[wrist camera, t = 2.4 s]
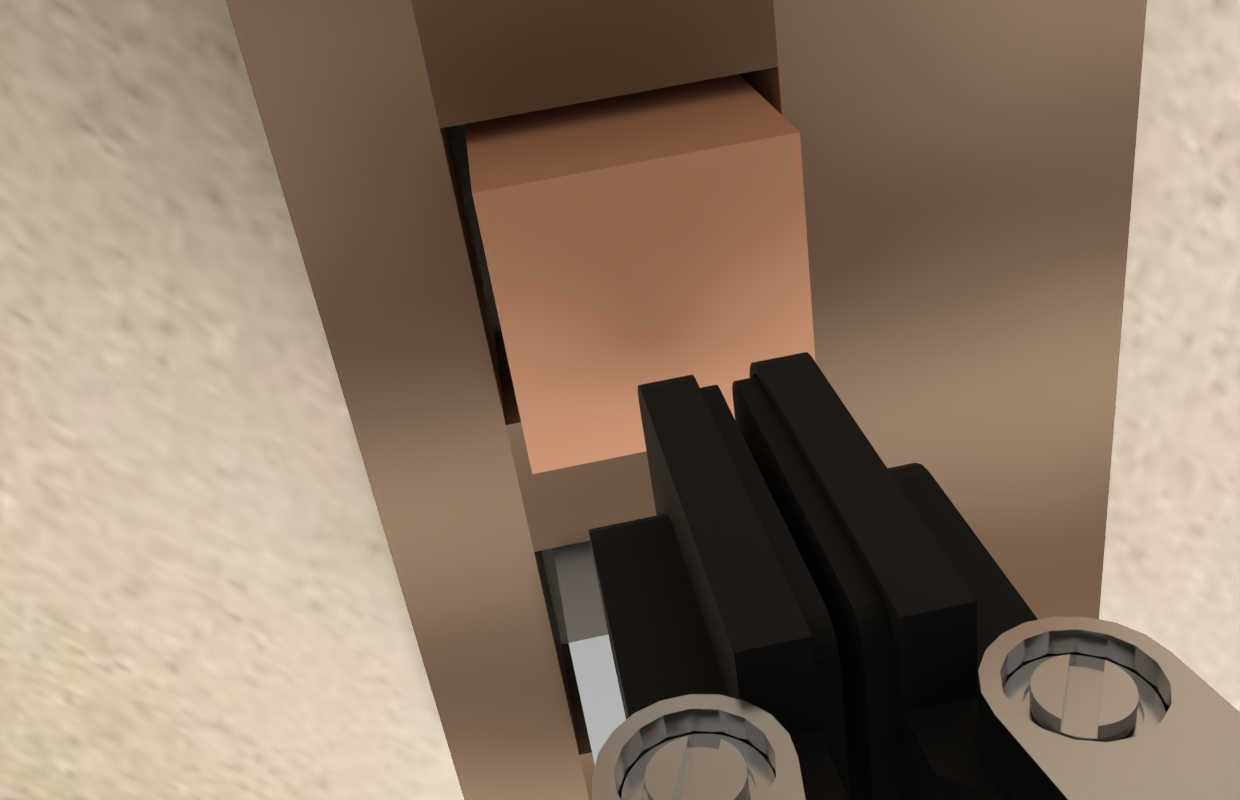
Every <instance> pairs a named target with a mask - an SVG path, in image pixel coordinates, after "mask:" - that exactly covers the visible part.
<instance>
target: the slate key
mask: <svg viewBox="0 0 1240 800" xmlns="http://www.w3.org/2000/svg"><path fill="white" fill-rule="evenodd" d="M553 552H554V558H555V564H556V570H557V576H558V582H559V588H560V594H561V600H562V606H563V612H564V618H565V624H566V631H567V637H568V643H569V647H570V652H571V657H572V661H573V666H574V671H575V675H576V680H577V685H578V689H579V694H580V699H581V703H582V708H583V713H584V717H585V722H586V727H587V731H588V736H589V741H590V745H591V750H592V754H593V759H594V764H595V765H596V760H597V756H598V753H599V751H600V750H601V748H602V747H603V745H604V744H605V742H606V741H607V739H608V737H609V736H610V734H611V733H612V731H613V730H615V729H616V728H617V727H618V726H619V725H621V724H622V723H623V722H624V721H625V720H626V717H625V712H624V707H623V703H622V698H621V693H620V688H619V684H618V679H617V674H616V669H615V664H614V660H613V655H612V650H611V645H610V640H609V635H608V630H607V625H606V620H605V615H604V610H603V605H602V599H601V594H600V589H599V584H598V579H597V573H596V568H595V563H594V558H593V553H592V547H591V542H590V541H585V542H580V543H575V544H570V545H565V546H561V547H556V548H553Z"/></svg>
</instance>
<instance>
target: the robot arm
mask: <svg viewBox="0 0 1240 800" xmlns="http://www.w3.org/2000/svg"><path fill="white" fill-rule="evenodd" d="M732 394H733V404H734V413H735V419H734V417H733V415H732V413H731V411H730V409H729V406H728V404H727V402H726V400H725V398H724V396H723V394H722V392H721V390H720V388H719V386H718V385H712V386H707V387H702V388H700V387H699V385H698V383H697V381H696V379H695V377H694V375H687V376H682V377H677V378H672V379H667V380H662V381H657V382H652V383H647V384H642V385H638V399H639V406H640V413H641V419H642V425H643V432H644V438H645V445H646V451H647V457H648V464H649V470H650V477H651V483H652V489H653V496H654V502H655V509H656V515H657V516H652V517H647V518H642V519H637V520H632V521H628V522H623V523H618V524H613V525H608V526H603V527H598V528H593V529H589V536H590V542H591V547H592V553H593V558H594V563H595V568H596V573H597V579H598V584H599V589H600V594H601V599H602V605H603V610H604V615H605V620H606V625H607V630H608V635H609V640H610V645H611V650H612V655H613V660H614V664H615V669H616V674H617V679H618V684H619V688H620V693H621V698H622V703H623V707H624V712H625V717H626V720H625V721H624V722H623V723H622V724H621V725H619V726H618V727H617V728H616V729H615V730H613V731H612V733H611V734H610V736H609V737H608V739H607V741H606V742H605V744H604V745H603V747H602V748H601V750H600V751H599V753H598V756H597V760H596V765H595V769H594V774H593V779H592V800H1240V712H1239V711H1238V710H1237V709H1235V708H1234V707H1233V706H1232V705H1231V704H1230V703H1229V702H1227V701H1226V700H1225V699H1224V698H1223V697H1222V696H1221V695H1219V694H1218V693H1217V692H1216V691H1215V690H1214V689H1213V688H1211V687H1210V686H1209V685H1208V684H1207V683H1206V682H1205V681H1204V680H1202V679H1201V678H1200V677H1199V676H1198V675H1197V674H1196V673H1194V672H1193V671H1192V670H1191V669H1190V668H1189V667H1188V666H1186V665H1185V664H1184V663H1183V662H1182V661H1181V660H1180V659H1179V658H1177V657H1176V656H1175V655H1174V654H1173V653H1172V652H1170V651H1169V650H1167V649H1166V648H1165V647H1163V646H1162V645H1160V644H1159V643H1157V642H1156V641H1154V640H1153V639H1151V638H1150V637H1148V636H1147V635H1145V634H1143V633H1140V632H1138V631H1135V630H1133V629H1130V628H1128V627H1125V626H1123V625H1120V624H1118V623H1114V622H1109V621H1104V620H1099V619H1094V618H1088V617H1049V618H1044V619H1039V620H1038V619H1037V617H1036V616H1035V615H1034V613H1033V612H1032V610H1031V609H1030V608H1029V606H1028V605H1027V604H1026V602H1025V601H1024V600H1023V598H1022V597H1021V596H1020V594H1019V593H1018V591H1017V590H1016V589H1015V587H1014V586H1013V585H1012V583H1011V582H1010V581H1009V579H1008V578H1007V577H1006V575H1005V574H1004V572H1003V571H1002V570H1001V568H1000V567H999V566H998V564H997V563H996V562H995V560H994V559H993V558H992V556H991V555H990V553H989V552H988V551H987V549H986V548H985V547H984V545H983V544H982V543H981V541H980V540H979V538H978V537H977V536H976V534H975V533H974V532H973V530H972V529H971V528H970V526H969V525H968V524H967V522H966V521H965V519H964V518H963V517H962V515H961V514H960V513H959V511H958V510H957V509H956V507H955V506H954V505H953V503H952V502H951V500H950V499H949V498H948V496H947V495H946V494H945V492H944V491H943V490H942V488H941V487H940V486H939V484H938V483H937V481H936V480H935V479H934V477H933V476H932V475H931V473H930V472H929V471H928V470H927V469H926V468H925V467H924V466H923V465H922V464H919V463H911V464H906V465H901V466H896V467H891V468H887V467H886V466H885V464H884V463H883V461H882V460H881V458H880V457H879V455H878V454H877V452H876V451H875V449H874V448H873V446H872V445H871V443H870V442H869V441H868V439H867V438H866V436H865V435H864V433H863V432H862V430H861V429H860V427H859V426H858V424H857V423H856V421H855V420H854V418H853V417H852V415H851V414H850V412H849V411H848V410H847V408H846V407H845V405H844V404H843V402H842V401H841V399H840V398H839V396H838V395H837V393H836V392H835V390H834V389H833V387H832V386H831V384H830V383H829V381H828V380H827V379H826V377H825V376H824V374H823V373H822V371H821V370H820V368H819V367H818V365H817V364H816V362H815V361H814V359H813V358H812V356H811V355H810V354H809V353H808V352H804V353H798V354H793V355H788V356H783V357H778V358H773V359H768V360H763V361H758V362H753V363H751V365H750V378H747V379H742V380H737V381H733V384H732Z"/></svg>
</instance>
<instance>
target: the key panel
mask: <svg viewBox="0 0 1240 800" xmlns="http://www.w3.org/2000/svg"><path fill="white" fill-rule="evenodd" d="M226 2H227V5H228V8H229V12H230V15H231V18H232V22H233V25H234V28H235V32H236V35H237V38H238V42H239V45H240V49H241V52H242V55H243V59H244V62H245V65H246V69H247V72H248V75H249V79H250V82H251V85H252V89H253V92H254V95H255V99H256V102H257V106H258V109H259V112H260V116H261V119H262V122H263V126H264V129H265V132H266V136H267V139H268V142H269V146H270V149H271V153H272V156H273V159H274V163H275V166H276V169H277V173H278V176H279V179H280V183H281V186H282V189H283V193H284V196H285V199H286V203H287V206H288V210H289V213H290V216H291V220H292V223H293V226H294V230H295V233H296V236H297V240H298V243H299V246H300V250H301V253H302V256H303V260H304V263H305V267H306V270H307V273H308V277H309V280H310V283H311V287H312V290H313V293H314V297H315V300H316V303H317V307H318V310H319V313H320V317H321V320H322V324H323V327H324V330H325V334H326V337H327V340H328V344H329V347H330V350H331V354H332V357H333V360H334V364H335V367H336V370H337V374H338V377H339V381H340V384H341V387H342V391H343V394H344V397H345V401H346V404H347V407H348V411H349V414H350V417H351V421H352V424H353V427H354V431H355V434H356V438H357V441H358V444H359V448H360V451H361V454H362V458H363V461H364V464H365V468H366V471H367V474H368V478H369V481H370V484H371V488H372V491H373V495H374V498H375V501H376V505H377V508H378V511H379V515H380V518H381V521H382V525H383V528H384V531H385V535H386V538H387V541H388V545H389V548H390V552H391V555H392V558H393V562H394V565H395V568H396V572H397V575H398V578H399V582H400V585H401V588H402V592H403V595H404V599H405V602H406V605H407V609H408V612H409V615H410V619H411V622H412V625H413V629H414V632H415V635H416V639H417V642H418V645H419V649H420V652H421V656H422V659H423V662H424V666H425V669H426V672H427V676H428V679H429V682H430V686H431V689H432V692H433V696H434V699H435V702H436V706H437V709H438V713H439V716H440V719H441V723H442V726H443V729H444V733H445V736H446V739H447V743H448V746H449V749H450V753H451V756H452V759H453V763H454V766H455V770H456V773H457V776H458V780H459V783H460V786H461V790H462V793H463V796H464V800H592V779H593V774H594V769H595V764H594V759H593V754H592V750H591V745H590V741H589V736H588V731H587V727H586V722H585V717H584V713H583V708H582V703H581V699H580V694H579V689H578V685H577V680H576V675H575V671H574V666H573V661H572V657H571V652H570V647H569V645H567V646H562V644H561V639H560V634H559V630H558V625H557V621H556V616H555V612H554V607H553V602H552V598H551V593H550V589H549V584H548V580H547V575H546V570H545V566H544V561H543V557H542V552H541V550H546V549H551V548H556V547H561V546H565V545H570V544H575V543H580V542H585V541H590V536H589V529H593V528H598V527H603V526H608V525H613V524H618V523H623V522H628V521H632V520H637V519H642V518H647V517H652V516H657V515H656V509H655V502H654V496H653V489H652V483H651V477H650V470H649V464H648V457H647V451H645V452H640V453H635V454H630V455H625V456H620V457H615V458H611V459H606V460H601V461H596V462H591V463H586V464H581V465H576V466H571V467H566V468H561V469H556V470H551V471H546V472H541V473H536V474H532V470H531V466H530V461H529V456H528V452H527V447H526V442H525V438H524V433H523V428H522V424H521V419H520V415H519V410H518V405H517V401H516V396H515V391H514V387H513V382H512V377H511V373H510V368H509V363H508V359H507V354H506V349H505V345H504V340H499V341H495V337H494V333H493V328H492V324H491V319H490V314H489V310H488V305H487V301H486V296H485V292H484V287H483V282H482V278H481V273H480V269H479V264H478V260H477V255H476V250H475V246H474V241H473V237H472V232H471V228H470V223H469V218H468V214H467V209H466V205H465V200H464V196H463V191H462V186H461V182H460V177H459V173H458V168H457V164H456V159H455V154H454V150H453V145H452V141H451V136H450V132H449V127H451V126H456V125H462V124H467V123H473V122H478V121H484V120H489V119H495V118H500V117H506V116H511V115H517V114H522V113H528V112H533V111H539V110H544V109H549V108H555V107H560V106H566V105H571V104H577V103H582V102H588V101H593V100H599V99H604V98H610V97H615V96H621V95H626V94H632V93H637V92H643V91H648V90H654V89H659V88H664V87H670V86H675V85H681V84H686V83H692V82H697V81H703V80H708V79H714V78H719V77H725V76H730V75H736V74H739V75H740V76H741V77H742V78H743V79H744V80H745V81H746V82H747V83H748V84H750V85H751V86H752V87H753V88H754V89H755V90H756V91H757V92H758V93H759V94H760V95H761V96H762V97H763V98H764V99H765V100H766V101H767V102H769V103H770V104H771V105H772V106H773V107H774V108H775V109H776V110H777V111H778V112H779V113H780V114H781V115H782V116H783V117H784V118H785V119H786V120H788V121H789V122H790V123H791V124H792V125H793V126H794V127H795V128H796V129H797V130H798V131H799V132H800V140H801V155H802V170H803V185H804V199H805V214H806V229H807V244H808V259H809V273H810V288H811V303H812V318H813V333H814V348H815V362H816V364H817V365H818V367H819V368H820V370H821V371H822V373H823V374H824V376H825V377H826V379H827V380H828V381H829V383H830V384H831V386H832V387H833V389H834V390H835V392H836V393H837V395H838V396H839V398H840V399H841V401H842V402H843V404H844V405H845V407H846V408H847V410H848V411H849V412H850V414H851V415H852V417H853V418H854V420H855V421H856V423H857V424H858V426H859V427H860V429H861V430H862V432H863V433H864V435H865V436H866V438H867V439H868V441H869V442H870V443H871V445H872V446H873V448H874V449H875V451H876V452H877V454H878V455H879V457H880V458H881V460H882V461H883V463H884V464H885V466H886V467H887V468H891V467H896V466H901V465H906V464H911V463H919V464H922V465H923V466H924V467H925V468H926V469H927V470H928V471H929V472H930V473H931V475H932V476H933V477H934V479H935V480H936V481H937V483H938V484H939V486H940V487H941V488H942V490H943V491H944V492H945V494H946V495H947V496H948V498H949V499H950V500H951V502H952V503H953V505H954V506H955V507H956V509H957V510H958V511H959V513H960V514H961V515H962V517H963V518H964V519H965V521H966V522H967V524H968V525H969V526H970V528H971V529H972V530H973V532H974V533H975V534H976V536H977V537H978V538H979V540H980V541H981V543H982V544H983V545H984V547H985V548H986V549H987V551H988V552H989V553H990V555H991V556H992V558H993V559H994V560H995V562H996V563H997V564H998V566H999V567H1000V568H1001V570H1002V571H1003V572H1004V574H1005V575H1006V577H1007V578H1008V579H1009V581H1010V582H1011V583H1012V585H1013V586H1014V587H1015V589H1016V590H1017V591H1018V593H1019V594H1020V596H1021V597H1022V598H1023V600H1024V601H1025V602H1026V604H1027V605H1028V606H1029V608H1030V609H1031V610H1032V612H1033V613H1034V615H1035V616H1036V617H1037V619H1038V620H1039V619H1044V618H1049V617H1088V618H1094V619H1099V608H1100V596H1101V583H1102V570H1103V557H1104V544H1105V531H1106V518H1107V505H1108V493H1109V480H1110V467H1111V454H1112V441H1113V428H1114V415H1115V402H1116V390H1117V377H1118V364H1119V351H1120V338H1121V325H1122V312H1123V300H1124V287H1125V274H1126V261H1127V248H1128V235H1129V222H1130V209H1131V197H1132V184H1133V171H1134V158H1135V145H1136V132H1137V119H1138V106H1139V94H1140V81H1141V68H1142V55H1143V42H1144V29H1145V16H1146V3H1147V0H226Z"/></svg>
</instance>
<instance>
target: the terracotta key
mask: <svg viewBox="0 0 1240 800" xmlns="http://www.w3.org/2000/svg"><path fill="white" fill-rule="evenodd" d="M464 126H465V135H466V144H467V153H468V162H469V171H470V180H471V189H472V196H473V200H474V205H475V210H476V214H477V219H478V224H479V228H480V233H481V238H482V242H483V247H484V252H485V256H486V261H487V265H488V270H489V275H490V279H491V284H492V289H493V293H494V298H495V303H496V307H497V312H498V317H499V321H500V326H501V331H502V335H503V340H504V345H505V349H506V354H507V359H508V363H509V368H510V373H511V377H512V382H513V387H514V391H515V396H516V401H517V405H518V410H519V415H520V419H521V424H522V428H523V433H524V438H525V442H526V447H527V452H528V456H529V461H530V466H531V470H532V474H536V473H541V472H546V471H551V470H556V469H561V468H566V467H571V466H576V465H581V464H586V463H591V462H596V461H601V460H606V459H611V458H615V457H620V456H625V455H630V454H635V453H640V452H645V451H646V445H645V438H644V432H643V425H642V419H641V413H640V406H639V399H638V385H642V384H647V383H652V382H657V381H662V380H667V379H672V378H677V377H682V376H687V375H694V377H695V379H696V381H697V383H698V385H699V387H700V388H702V387H707V386H712V385H718V386H719V388H720V390H721V392H722V394H723V396H724V398H725V400H726V402H727V404H728V406H729V409H730V411H731V413H732V415H733V417H734V419H735V413H734V404H733V394H732V384H733V381H737V380H742V379H747V378H750V365H751V363H753V362H758V361H763V360H768V359H773V358H778V357H783V356H788V355H793V354H798V353H804V352H808V353H809V354H810V355H811V356H812V358H813V359H814V361H815V348H814V333H813V318H812V303H811V288H810V273H809V259H808V244H807V229H806V214H805V199H804V185H803V170H802V155H801V140H800V132H799V131H798V130H797V129H796V128H795V127H794V126H793V125H792V124H791V123H790V122H789V121H788V120H786V119H785V118H784V117H783V116H782V115H781V114H780V113H779V112H778V111H777V110H776V109H775V108H774V107H773V106H772V105H771V104H770V103H769V102H767V101H766V100H765V99H764V98H763V97H762V96H761V95H760V94H759V93H758V92H757V91H756V90H755V89H754V88H753V87H752V86H751V85H750V84H748V83H747V82H746V81H745V80H744V79H743V78H742V77H741V76H740V75H739V74H736V75H730V76H725V77H719V78H714V79H708V80H703V81H697V82H692V83H686V84H681V85H675V86H670V87H664V88H659V89H654V90H648V91H643V92H637V93H632V94H626V95H621V96H615V97H610V98H604V99H599V100H593V101H588V102H582V103H577V104H571V105H566V106H560V107H555V108H549V109H544V110H539V111H533V112H528V113H522V114H517V115H511V116H506V117H500V118H495V119H489V120H484V121H478V122H473V123H467V124H464Z"/></svg>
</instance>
